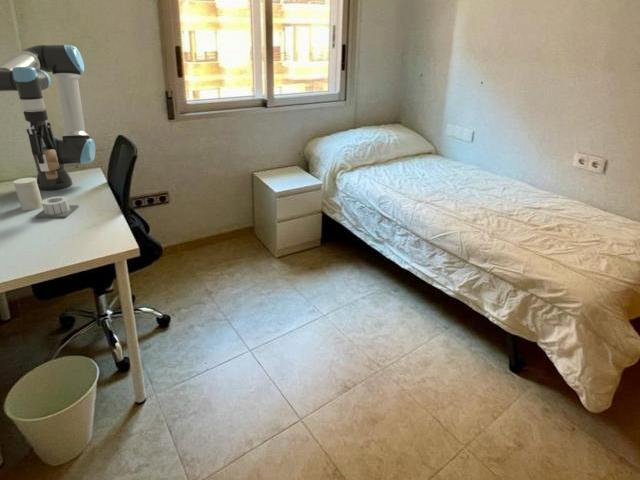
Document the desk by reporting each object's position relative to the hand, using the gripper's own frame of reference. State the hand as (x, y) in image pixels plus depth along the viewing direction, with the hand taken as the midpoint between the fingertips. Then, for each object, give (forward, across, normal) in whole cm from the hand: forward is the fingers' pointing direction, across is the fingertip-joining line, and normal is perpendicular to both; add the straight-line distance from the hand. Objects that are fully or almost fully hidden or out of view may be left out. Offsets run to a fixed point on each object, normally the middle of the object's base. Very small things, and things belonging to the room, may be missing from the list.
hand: (49, 168), depth 177 cm
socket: (+19, +1, -1) cm, 19 cm away
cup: (+19, -7, -15) cm, 25 cm away
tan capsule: (+4, 0, 0) cm, 4 cm away
